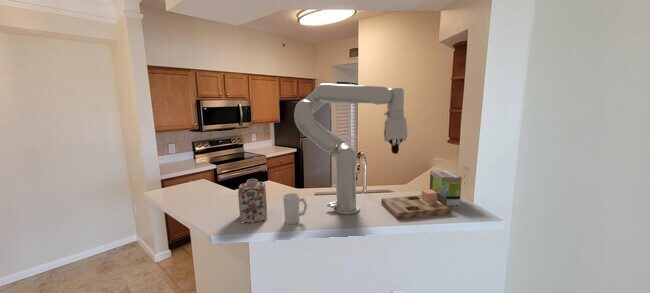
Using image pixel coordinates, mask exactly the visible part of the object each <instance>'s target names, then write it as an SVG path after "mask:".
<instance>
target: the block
mask: <svg viewBox="0 0 650 293" xmlns="http://www.w3.org/2000/svg"><path fill="white" fill-rule="evenodd" d="M421 195H422V201H424V202H425V203H427V204H430V203H437V192H435V191H433V190H430V189H424V190H423V189H422V190H421Z"/></svg>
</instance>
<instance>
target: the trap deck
mask: <svg viewBox="0 0 650 293" xmlns="http://www.w3.org/2000/svg"><path fill="white" fill-rule="evenodd" d="M431 190H433V189H431ZM433 191H435V190H433ZM435 192H437V191H435ZM380 205H381V206H382V207H384V209H386V210H387V211H388V212H389V213H390V214H391V215H392V216H393V217H394V218H395V220H405V219H414V218H415V219H416V218H417V219H418V218H426V217H437V216H445V215H447V216H448V215H452V206H447V197H446V196H444V195H442V194H441V193H439V192H437V203H430V204H427V203H425V202H424V201H422V194H420V195H409V196H408V195H407V196H397V197H386V198H383V197H382V198H381V200H380Z"/></svg>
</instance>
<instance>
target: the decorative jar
mask: <svg viewBox="0 0 650 293" xmlns="http://www.w3.org/2000/svg"><path fill="white" fill-rule="evenodd" d="M266 190H267V189H266V183H265V182H264V181H259V180H258V179H256V178H250V179H247V180H246V182H244V183H241V184H240V185H239V186H238V192H237V196H238V207H239V208H238V209H239V219H240V224H241V223H242V222H250V223H253V222H252V221H259V222H264V221H263V220H266V221H267V220H268V217H267V216H268V205H267V191H266ZM242 224H243V223H242Z"/></svg>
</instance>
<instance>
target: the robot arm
mask: <svg viewBox="0 0 650 293" xmlns="http://www.w3.org/2000/svg"><path fill="white" fill-rule="evenodd" d="M327 103H328V104H346V105H347V104H348V105H355V104H374V105H385V104H387V106H386V112H384V114H383V115H384V116H386V118H385V120H384V126H383V127H384V128H383V137H384V139H383V141H384V142H387V143H389V145H391V154H395V155H396V154H397V155H398V154H399V151H400V148H399V147H400V145H401V143H403V142H405V141H407V138H408V125H407V119H406V117H404V116H405V115H404V114H405V112H404V111H405V109H404V108H405V91H404V88H402V87H391V88H388V87H386V86H376V85H356V84H339V83H320V84H318V85H317V86H316V87H315V89H314V90H312V92H310V93H309V94H308V95H307V96H306V97H304V98H303V99H301V100H299V101H297V104H295V108H294V114H293V117H294V118H293V119H294V123H295V126H296V127H297V129H298V131H299V132H301V133H302V134H303V135H304V136H306V137H307V138H308V139H309V140H310V141H311V142H313V143H314V144H315V145H317V147H318V148H320V150H322V151H324V152H326V153H327V154H328V155H330V156H332V157H333V158H334V159H335V187H336V188H335V189H336V190H335V191H336V192H335V194H336V195H335V196H336V199H335V200H334V201H333V202H326V207H330V209H333V212H335V213H337V214H340V215H354V214H357V213H358V212H359V211H360V206H359V205H358V204H357V183H356V182H357V179H356V177H357V176H356V175H357V174H356V173H357V171H356V170H357V154H356V151H355V150H354V148H352V146H350V145H349V144H347V143H346V142H345V141H344V140H342V138H340V137H339V136H337V134H335V133H334V132H332V131H330V130H328V129H327V128H326V127H324V126H323V125H322V124H320V122H318V121H317V120H316V118H315V117H314V113H316V112H317V111H318V110H319V109H321V108H322V107H323V106H324V105H325V104H327Z"/></svg>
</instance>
